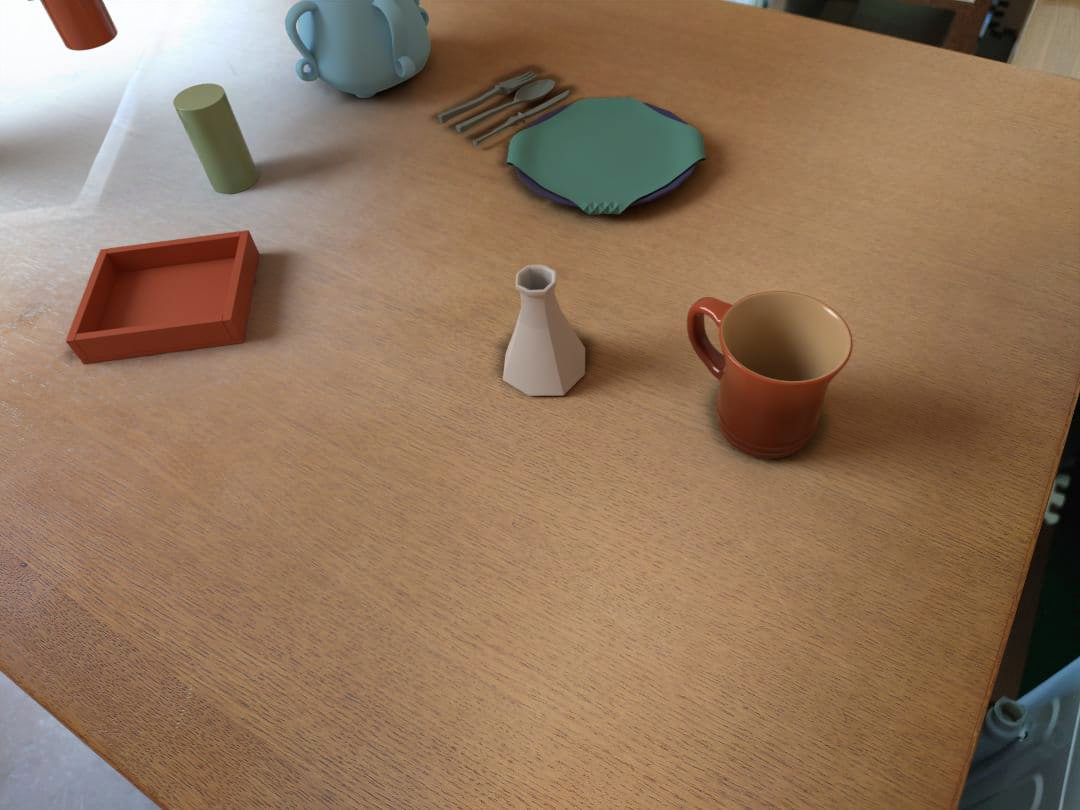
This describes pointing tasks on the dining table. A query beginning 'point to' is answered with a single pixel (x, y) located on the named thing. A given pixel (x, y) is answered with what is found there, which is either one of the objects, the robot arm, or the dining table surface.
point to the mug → (770, 366)
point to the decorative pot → (359, 42)
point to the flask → (542, 339)
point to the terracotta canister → (81, 22)
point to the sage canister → (216, 137)
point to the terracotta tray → (166, 297)
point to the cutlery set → (593, 147)
